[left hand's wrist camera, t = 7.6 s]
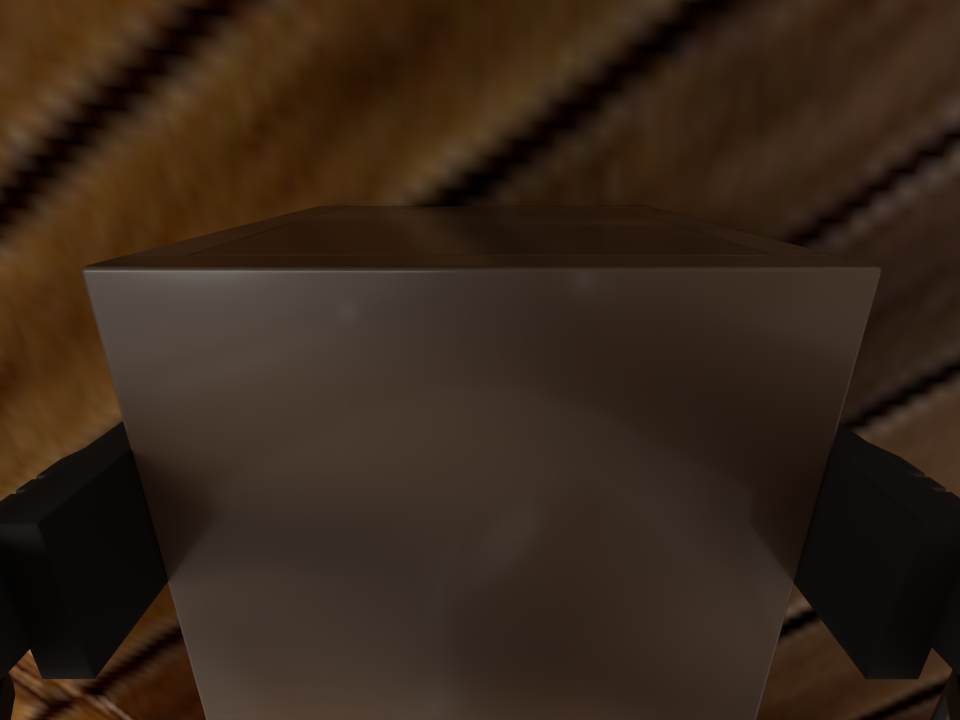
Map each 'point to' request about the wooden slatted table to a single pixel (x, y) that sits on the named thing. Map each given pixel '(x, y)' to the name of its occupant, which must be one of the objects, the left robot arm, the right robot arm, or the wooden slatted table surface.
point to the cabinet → (481, 455)
